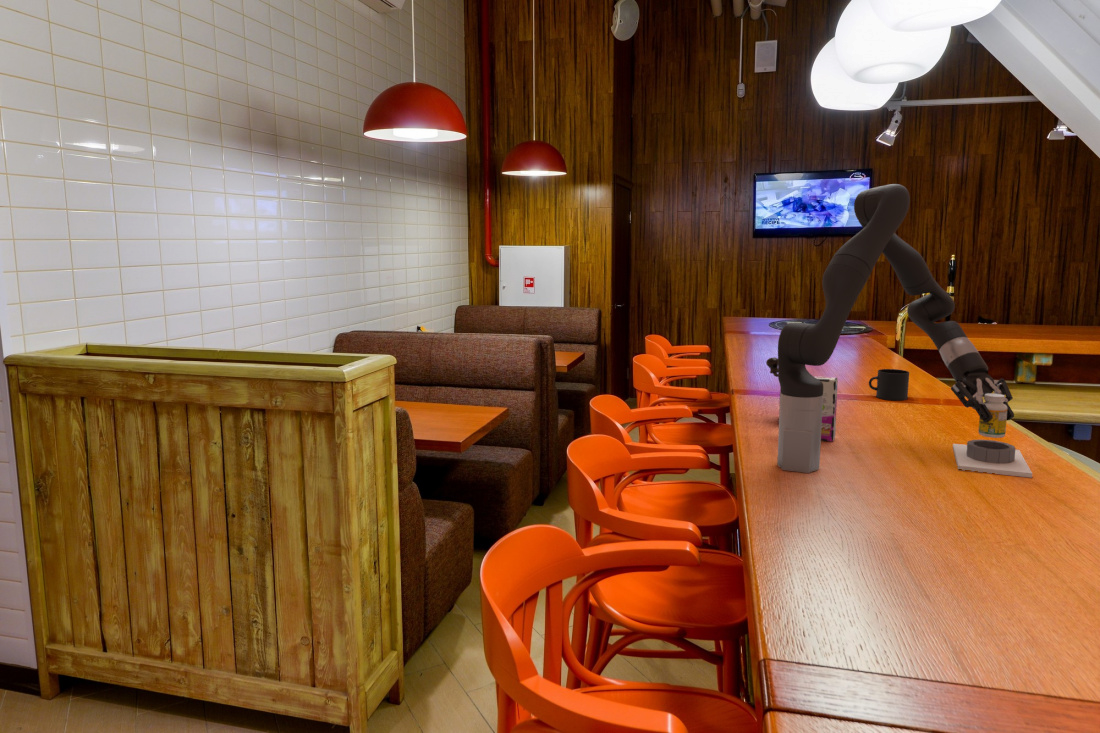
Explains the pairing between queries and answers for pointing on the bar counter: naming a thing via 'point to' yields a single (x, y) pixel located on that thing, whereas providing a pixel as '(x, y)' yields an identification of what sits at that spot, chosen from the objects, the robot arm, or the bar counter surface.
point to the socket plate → (991, 458)
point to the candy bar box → (828, 408)
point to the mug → (891, 384)
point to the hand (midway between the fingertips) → (999, 419)
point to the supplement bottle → (994, 416)
